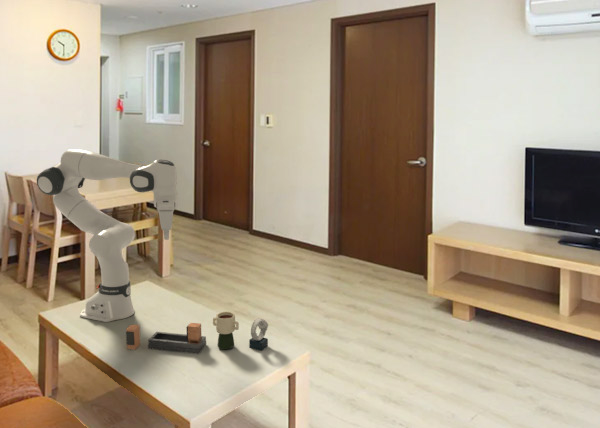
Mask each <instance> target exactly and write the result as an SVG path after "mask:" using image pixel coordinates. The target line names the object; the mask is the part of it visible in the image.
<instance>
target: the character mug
mask: <svg viewBox="0 0 600 428" xmlns="http://www.w3.org/2000/svg"><path fill="white" fill-rule="evenodd" d="M212 325H213V326H215V327H216V332H217V334H218V337H217V338H218V339H217V347H218V348H219V349H220V350H228V349H232V348H234V347H235V339H234V334H233V332H235V330H236V331H238V330H239V327H240V326H239V325H240V324H239V321H236V314H235V313H234V312H232V311H221V312H218V313H217V314H216V315H215V316H214V317H212Z"/></svg>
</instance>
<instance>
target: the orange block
mask: <svg viewBox="0 0 600 428" xmlns="http://www.w3.org/2000/svg"><path fill="white" fill-rule="evenodd" d="M125 330H126V331H125V339H126V348H127V350H136V349H137V348H138V347H140V346H141V330H140V324H131V325H129V326H128V327H127V328H125Z"/></svg>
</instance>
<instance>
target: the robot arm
mask: <svg viewBox="0 0 600 428" xmlns="http://www.w3.org/2000/svg"><path fill="white" fill-rule="evenodd" d="M117 178H127V179H129V183H130V186H131V188H132V189H133V190H134V191H135V192H138V193H148V192H152V193H153V207H154V208H156V211H157V212H158V215H159V223H160V227H161V229H160V230H161V231H163V239H164V240H169V239H170V231H172V228H173V227H172V226H173V216H174V215H173V214H174V211H175V209H176V207H178V192H177V184H178V180H177V170H176V165H175V163H174V162H173V161H170V160H167V159H156V160H154V161H153V162H152V163H150V164H148V165H143V164H138V163H133V162H128V161H123V160H119V159H116V158H113V157H110V156H107V155H104V154H101V153H97V152H94V151H89V150H86V149H85V150H84V149H77V148H76V149H74V148H72V149H67V150H65V151H64V152H63V154H62V155H61V156H60V162H59V163H57V164H54V165H53V166H51V167H48V168H46V169H43V171H40V173H39V174H38V175H37V176H36V185H37V187H38V189H39V191H40V192H42V194H45V195H46V196H53V198H52V202H53V205H54V206H55V207H56V208H57V210H58V211H59V212H60V213H61V214H62V215H63V216H64V217H65V218H66V219H67V220H68V221H69V222H71V223H72V224H74V226H76V227H77V228H78V229H79V230H80V231H82V232H84V233H88V234H92V235H93V236H92V237H91V238H90V239H89V241H88V248H89V250H90V252H91V254H93V255H94V256H95V257H96V258H97V260H98V264H99V267H100V274H101V275H100V276H101V282H100V283H99V284H98V285H97V286H96V289H97V290H98V291H97V292H96V293H94V294H93V295H92V296H91V297H90V298H88V299H87V300H86V303H85V308H83V309H82V310H81V312H80V313H79V317H81V318H83V319H89V320H94V321H99V322H104V323H110V322H112V321H116V320H117V321H118V320H122V319H123V320H124V319H126V318H129V317H131V316H132V315H134V314H135V308H134V305H133V301H132V295H131V292H132V291H131V290H132V289H131V288H132V287H131V280H130V274H129V273H130V272H129V271H130V270H129V263H128V262H126V261H125V259H124V256H123V253H122V251H123V249H125V248H127V247H128V246H130V244H131V243H132V242H133V241H134V240H135V237H136V232H135V228H134V227H133V226H132V225H130V224H129V223H126V222H121V221H120V220H117V219H116V218H114V217H112V216H110V215H108V214H106V213H105V212H103V211H101V210H100V209H99V208H98V207H96V206H95V205H94V204H93V203H92V202H91V201H89V200H88V199H87V198H86V197H85V196H83V195H82V194H81V193H80V192H79V189H80V188H81V189H82V188H83V186H84V182H85V180H90V181H106V180H110V179H117Z"/></svg>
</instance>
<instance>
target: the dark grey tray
mask: <svg viewBox="0 0 600 428" xmlns="http://www.w3.org/2000/svg"><path fill="white" fill-rule="evenodd" d="M185 328H186V334H183V333H176V332H175V333H173V332H167V331H166V332H163V331H155V333H153V334H152V335H151V336H150V337H149V338H148V344H147V349H149V350H155V351H156V350H158V351H166V352H175V353H184V354H185V353H186V354H194V355H200V353H201V352H202V351H203V349H204V348H205V347H206V346H207V338H206V337H207V336H204V335H202V323H198V322H190V323H189V324H188V325H187V326H186V327H185Z"/></svg>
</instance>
